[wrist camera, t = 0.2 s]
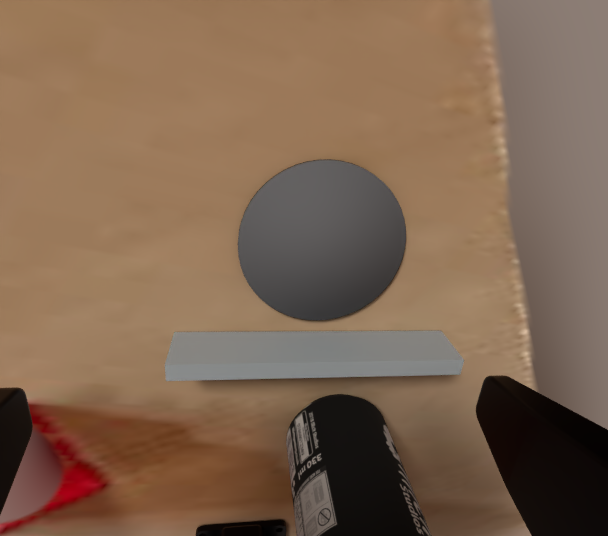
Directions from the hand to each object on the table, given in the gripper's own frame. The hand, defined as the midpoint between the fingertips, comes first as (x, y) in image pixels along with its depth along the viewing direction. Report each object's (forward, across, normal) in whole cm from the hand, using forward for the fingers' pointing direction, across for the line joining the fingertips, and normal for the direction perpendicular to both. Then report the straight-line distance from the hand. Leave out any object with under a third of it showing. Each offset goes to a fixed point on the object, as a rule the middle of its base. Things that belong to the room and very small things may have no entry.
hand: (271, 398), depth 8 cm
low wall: (+14, -4, +8) cm, 17 cm away
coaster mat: (+14, -4, +2) cm, 15 cm away
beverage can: (+15, -6, +15) cm, 22 cm away
